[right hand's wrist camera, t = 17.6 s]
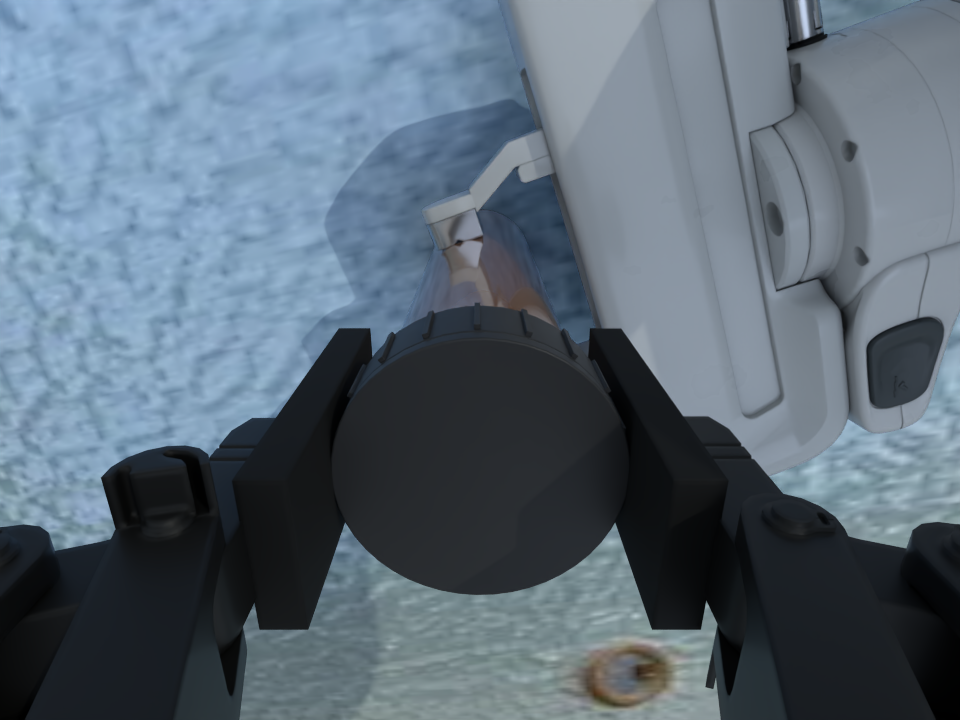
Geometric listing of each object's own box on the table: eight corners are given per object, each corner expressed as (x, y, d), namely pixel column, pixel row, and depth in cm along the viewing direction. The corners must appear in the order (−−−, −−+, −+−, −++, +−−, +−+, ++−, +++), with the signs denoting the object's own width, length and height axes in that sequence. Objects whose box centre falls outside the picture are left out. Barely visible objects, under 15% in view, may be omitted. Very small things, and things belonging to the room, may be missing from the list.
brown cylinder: (470, 189, 27) (453, 290, 10) (548, 247, 28) (650, 429, 11) (415, 268, 28) (319, 474, 11) (491, 321, 29) (505, 582, 12)
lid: (372, 545, 13) (356, 609, 11) (323, 316, 11) (294, 350, 9) (613, 524, 13) (634, 587, 11) (608, 287, 11) (633, 318, 9)
